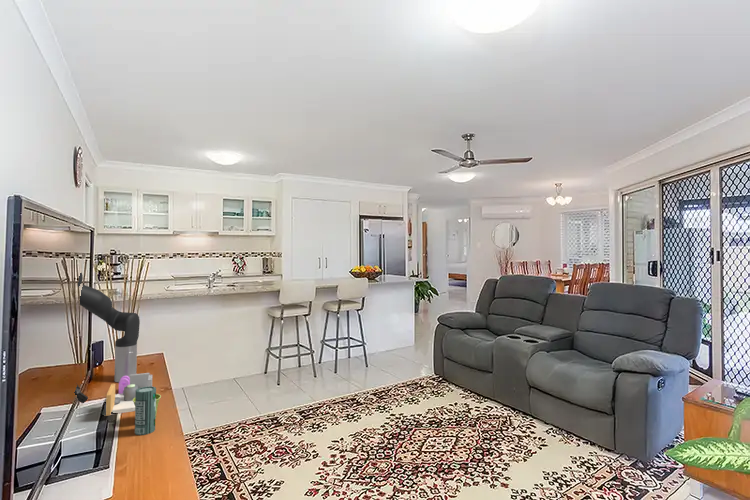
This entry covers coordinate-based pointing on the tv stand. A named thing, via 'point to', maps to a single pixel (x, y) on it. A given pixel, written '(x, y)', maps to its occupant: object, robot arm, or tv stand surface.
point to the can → (145, 410)
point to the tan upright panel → (111, 400)
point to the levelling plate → (123, 405)
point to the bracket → (123, 383)
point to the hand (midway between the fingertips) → (85, 400)
